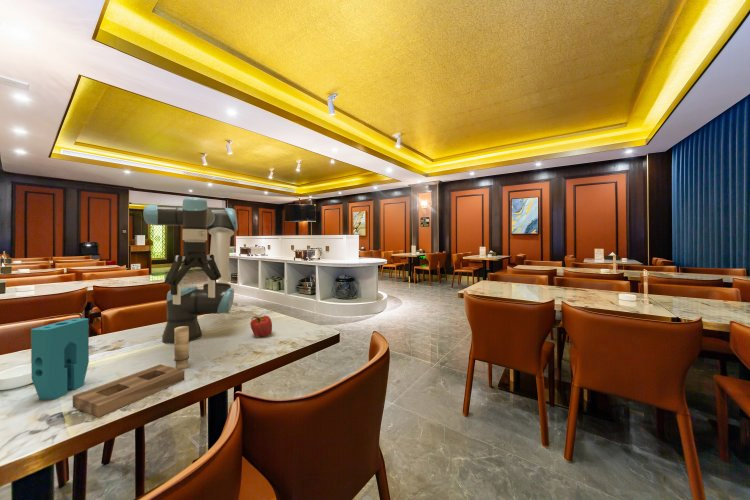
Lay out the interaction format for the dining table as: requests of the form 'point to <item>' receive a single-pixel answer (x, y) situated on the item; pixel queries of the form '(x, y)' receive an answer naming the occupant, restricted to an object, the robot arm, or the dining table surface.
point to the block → (59, 357)
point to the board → (126, 390)
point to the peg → (181, 346)
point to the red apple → (261, 326)
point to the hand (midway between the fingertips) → (195, 300)
